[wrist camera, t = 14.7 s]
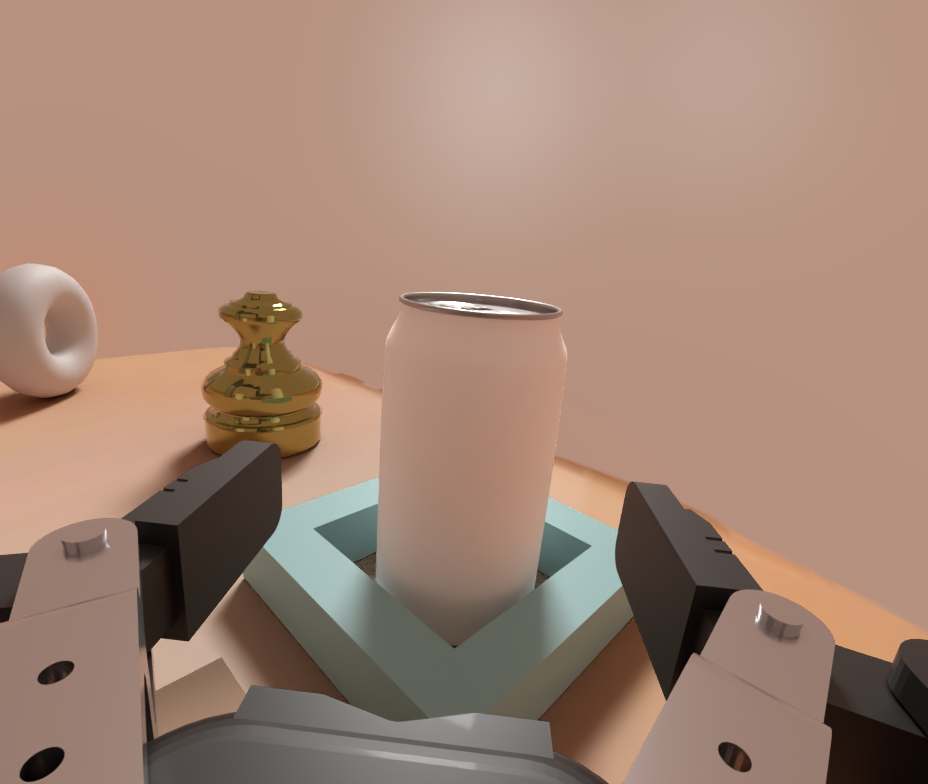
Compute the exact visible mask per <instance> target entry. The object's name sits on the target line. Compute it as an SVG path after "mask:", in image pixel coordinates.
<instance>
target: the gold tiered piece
mask: <svg viewBox="0 0 928 784" xmlns="http://www.w3.org/2000/svg"><path fill="white" fill-rule="evenodd" d="M218 315H219V317H220V318H221V319H222V320H224V321H225V322H227V323H229V325H230V326H232V327H233V328H234V329H235V331H236V332H237V333H238V335H239V338H240V345H239V347H238V348H237V349H236V350H235V351H234V352H233V354H232V355H231V356H229V357H228V358H226V359H225V360H224V365H222V366H220V367H218V368H216V369H214V370H212V371H211V372H210V373H208V374H207V375H206V376H205V377H204V379H203V380H202V383H201V391H202V395H203V398H204V400H205V401H206V402H207V403H208V404H209V405H211V406H210V407H209V408H208V409H207V410H206V411H205V412H204V414H203V418H204V420H205V431H206V443H207V445H208V447H209V448H210V449H211V450H213V451H214V452H216V453H218V454H220V455H223V454H224V453H226V452H227V451H228V450H230V449H231V448H232V447H234V446H235V445H236V444H238V443H239V442H240V441H243V440H247V441H257V442H266V443H276V444H277V445H278V446H279V448H280V452H281V458H283V457H287V456H291V455H295V454H298V453H300V452H303V451H305V450H307V449H309V448H311V447H312V446H313V445H315V444H316V443H317V442H318V441H319V439H320V437H321V414H322V409H321V407H320V406H319V405H318V404H317V403H316V402H315V401H316V400H317V399H318V398H319V396H320V394H321V390H322V381H321V378H320V377H319V375H318V374H317V373H316V372H315V371H313V370H312V369H310V368H308V367H306V366H304V365H302V364H301V360H300V359H299V358H297V357H296V356H294V355H293V354H292V353H291V351H290V350H289V349H288V348H287V347H286V345H285V343H284V339H285V336H286V334H287V332H288V331H289V330H290V329H291V328H292V327H293V326H294V325H295V324H296V323H298V322H299V321H300V320H301V319H302V317H303V314H302V310H301V309H300V308H298V307H297V306H295V305H292V304H291V302H288V301H283V300H281V299H279V298H278V297H277V295H276V294H275V293H273V292H267V291H248V292H246V293H245V295H244V297H242V298H240V299H233V300H231V301H230V302H229V303H225V304H223V305H222V306H220V307H219V309H218Z"/></svg>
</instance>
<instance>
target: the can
mask: <svg viewBox="0 0 928 784" xmlns="http://www.w3.org/2000/svg"><path fill="white" fill-rule="evenodd" d="M399 300H400V302H401V303H402V305H401V310H400V313H399V315H398V317H397V319H396V321H395V323H394V325H393V326H392V328H391V330H390V332H389V334H388V337H387V339H386V345H385V356H384V373H383V394H382V418H381V443H380V469H379V495H378V523H377V552H376V583H378V584H379V585H380V586H381V587H382V588H383V589H385V590H386V591H387V592H388V593H389V594H390V595H392V596H393V597H394V598H395V599H396V600H398V601H399V602H400V603H401V604H402V605H403V606H405V607H406V608H407V609H408V610H409V611H410V612H412V613H413V614H414V615H415V616H416V617H418V618H419V619H420V620H421V621H422V622H423V623H425V624H426V625H427V626H428V627H429V628H430V629H432V630H433V631H434V632H435V633H436V634H438V635H439V636H440V637H441V638H442V639H443V640H445V641H446V642H447V643H448V644H449V645H450V646H452V647H453V648H456V647H458V646H459V645H460V644H462V643H463V642H464V641H466V640H467V639H468V638H470V637H471V636H472V635H474V634H475V633H476V632H478V631H479V630H480V629H482V628H483V627H484V626H486V625H487V624H488V623H490V622H491V621H492V620H494V619H495V618H496V617H498V616H499V615H500V614H502V613H503V612H504V611H506V610H507V609H508V608H510V607H511V606H513V605H514V604H515V603H517V602H518V601H519V600H521V599H522V598H523V597H525V596H526V595H527V594H529V593H530V592H531V591H533V590H534V587H535V581H536V575H537V569H538V562H539V556H540V549H541V543H542V536H543V530H544V523H545V516H546V510H547V503H548V497H549V490H550V483H551V477H552V470H553V463H554V456H555V450H556V443H557V436H558V429H559V422H560V415H561V409H562V402H563V394H564V387H565V380H566V371H567V359H568V356H567V351H566V347H565V344H564V341H563V338H562V335H561V332H560V328H559V317H560V316H561V315H562V314H563V311H562V310H561V309H560V308H558V307H555V306H552V305H548V304H544V303H539V302H534V301H528V300H522V299H515V298H508V297H500V296H490V295H479V294H466V293H449V292H448V293H447V292H414V293H406V294H402V295H400V297H399Z"/></svg>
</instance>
